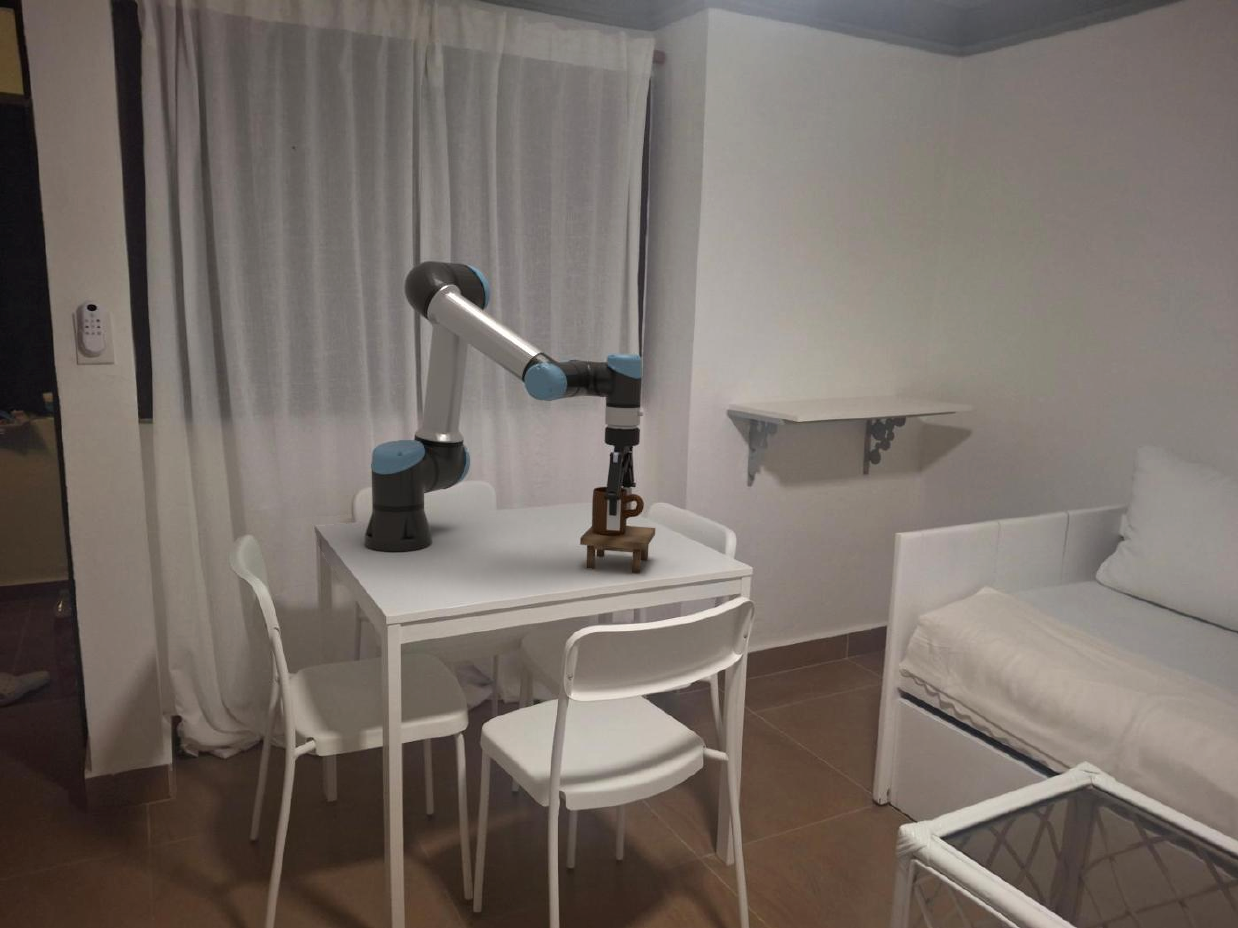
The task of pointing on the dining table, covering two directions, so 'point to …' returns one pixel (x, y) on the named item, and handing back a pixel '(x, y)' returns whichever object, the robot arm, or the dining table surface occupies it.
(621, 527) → the mug
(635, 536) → the stool
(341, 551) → the dining table surface
